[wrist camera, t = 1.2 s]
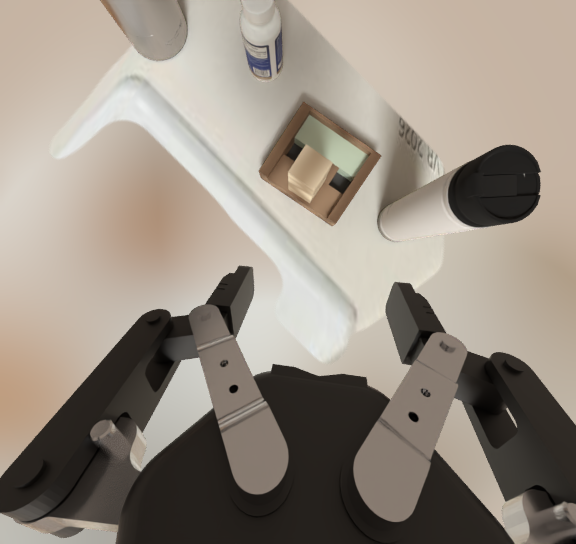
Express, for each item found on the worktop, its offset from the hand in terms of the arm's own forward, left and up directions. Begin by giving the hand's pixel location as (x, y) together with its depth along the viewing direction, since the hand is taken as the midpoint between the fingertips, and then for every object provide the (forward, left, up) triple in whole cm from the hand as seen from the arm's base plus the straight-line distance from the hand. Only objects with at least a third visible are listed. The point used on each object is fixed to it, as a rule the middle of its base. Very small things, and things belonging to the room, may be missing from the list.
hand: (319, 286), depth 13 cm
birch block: (-6, +11, -23) cm, 26 cm away
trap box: (-6, +15, -25) cm, 30 cm away
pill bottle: (-22, +24, -25) cm, 41 cm away
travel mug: (+9, +15, -25) cm, 30 cm away
